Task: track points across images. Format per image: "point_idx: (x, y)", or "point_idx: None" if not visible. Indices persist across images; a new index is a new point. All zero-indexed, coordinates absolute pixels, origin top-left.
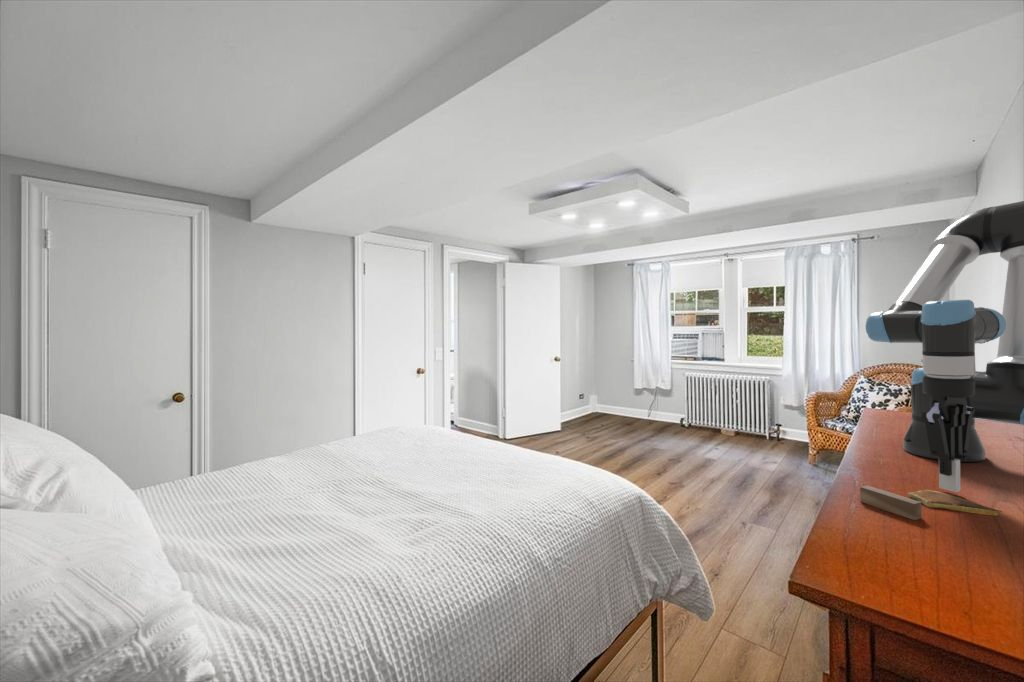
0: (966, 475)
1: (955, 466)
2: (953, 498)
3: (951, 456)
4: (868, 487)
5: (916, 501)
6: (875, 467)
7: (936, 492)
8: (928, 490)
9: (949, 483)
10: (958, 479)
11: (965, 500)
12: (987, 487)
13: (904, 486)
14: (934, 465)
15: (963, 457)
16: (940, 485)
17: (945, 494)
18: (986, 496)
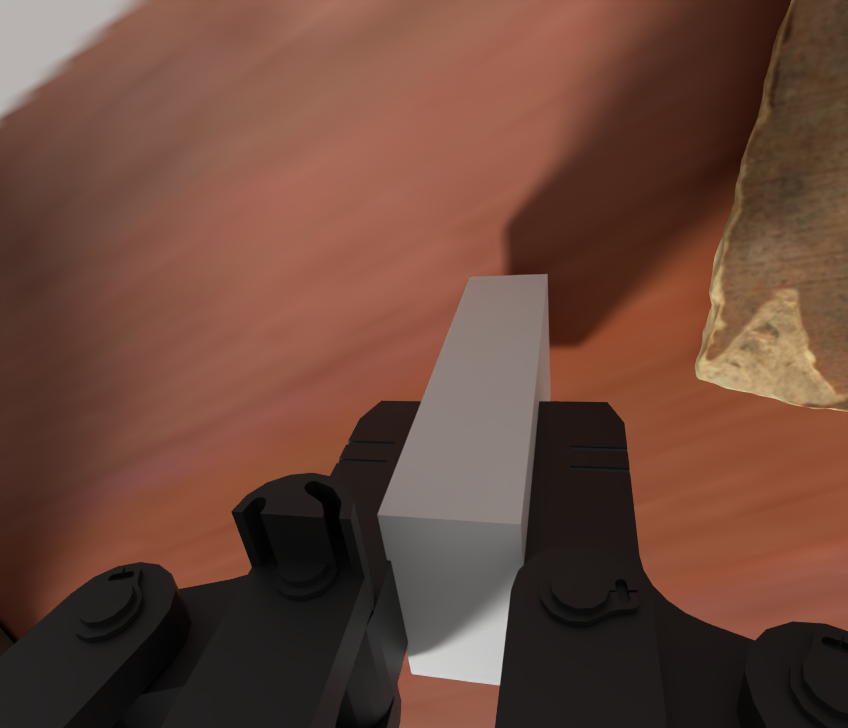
0: (34, 449)
1: (529, 452)
2: None
3: (639, 635)
4: None
5: None
6: (429, 719)
7: (815, 324)
8: (794, 387)
9: (544, 360)
10: (482, 337)
11: (830, 54)
12: (95, 278)
13: (674, 532)
14: (72, 590)
15: (346, 519)
16: (549, 400)
17: (788, 260)
18: (295, 157)
